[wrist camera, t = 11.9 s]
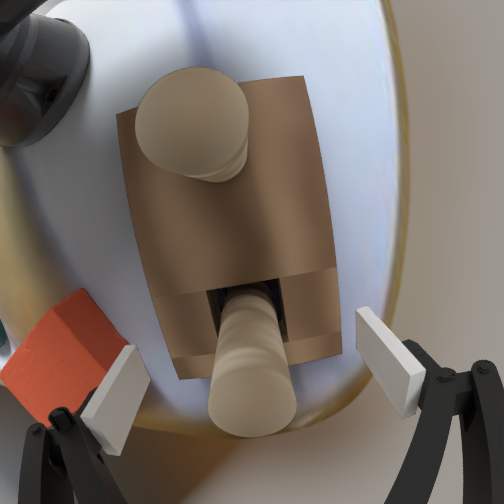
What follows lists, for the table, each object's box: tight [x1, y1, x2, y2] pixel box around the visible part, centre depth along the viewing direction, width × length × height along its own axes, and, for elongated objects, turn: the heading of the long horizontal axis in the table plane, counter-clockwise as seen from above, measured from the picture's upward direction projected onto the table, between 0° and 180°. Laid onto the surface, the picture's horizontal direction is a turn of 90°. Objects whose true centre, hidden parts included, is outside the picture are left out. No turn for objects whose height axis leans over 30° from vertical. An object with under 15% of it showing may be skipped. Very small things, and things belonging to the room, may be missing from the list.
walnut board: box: [116, 67, 342, 380], centre depth 17 cm, size 14×22×14 cm, turn 10°
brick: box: [0, 288, 130, 428], centre depth 24 cm, size 18×9×6 cm, turn 127°
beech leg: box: [207, 281, 297, 437], centre depth 18 cm, size 4×4×14 cm
